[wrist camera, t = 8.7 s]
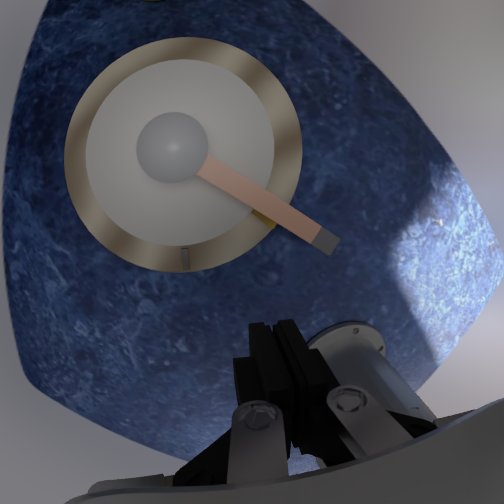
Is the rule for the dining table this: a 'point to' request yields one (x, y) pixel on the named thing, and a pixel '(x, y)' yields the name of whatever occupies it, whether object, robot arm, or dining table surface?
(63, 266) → the dining table surface
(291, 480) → the robot arm
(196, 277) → the dining table surface
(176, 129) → the dial
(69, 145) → the dial base
